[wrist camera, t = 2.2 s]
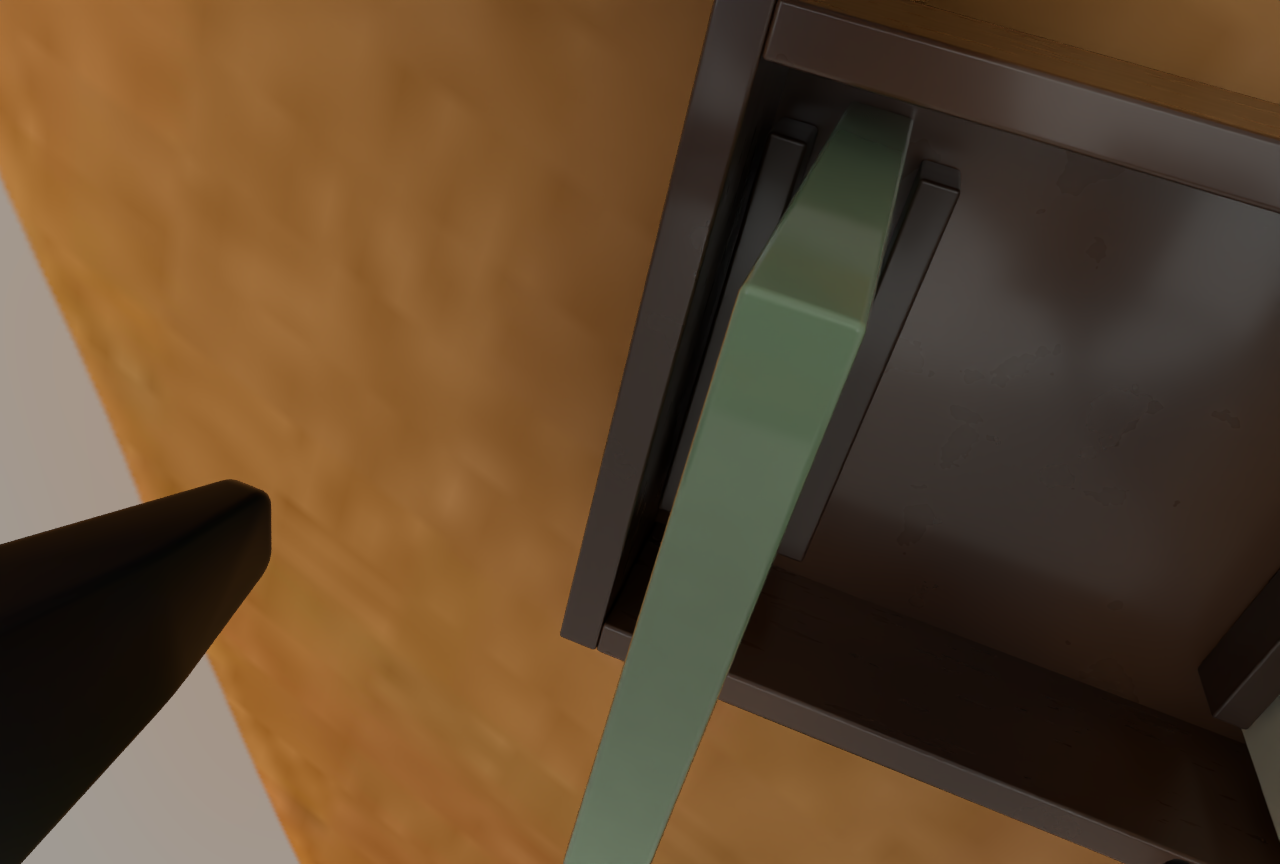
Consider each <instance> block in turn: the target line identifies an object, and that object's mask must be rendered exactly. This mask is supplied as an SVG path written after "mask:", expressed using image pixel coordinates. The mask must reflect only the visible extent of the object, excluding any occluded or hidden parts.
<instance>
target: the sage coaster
mask: <svg viewBox="0 0 1280 864" xmlns="http://www.w3.org/2000/svg"><path fill="white" fill-rule="evenodd" d="M913 126H914V121H913V120H912V119H911V118H909V117H906V116H902V115H899V114H896V113H892V112H889V111H886V110H882V109H879V108H876V107H872V106H869V105H866V104H862V103H859V102H856V101H854V102H850V103H849V105H848V106H847V108H846V109H845V111H844V113H843V114H842V116H841V118H840V119H839V121H838V123H837V125H836V126H835V128H834V130H833V131H832V133H831V135H830V136H829V138H828V140H827V141H826V143H825V145H824V146H823V148H822V150H821V152H820V153H819V155H818V157H817V158H816V160H815V162H814V163H813V165H812V167H811V168H810V170H809V172H808V174H807V175H806V177H805V179H804V180H803V182H802V184H801V185H800V187H799V189H798V190H797V192H796V194H795V195H794V197H793V199H792V201H791V202H790V204H789V206H788V207H787V209H786V211H785V212H784V214H783V216H782V217H781V219H780V221H779V222H778V224H777V226H776V228H775V229H774V231H773V233H772V234H771V236H770V238H769V239H768V241H767V243H766V244H765V246H764V248H763V250H762V251H761V253H760V255H759V256H758V258H757V260H756V261H755V263H754V265H753V266H752V268H751V270H750V271H749V273H748V275H747V277H746V278H745V280H744V282H743V283H742V285H741V287H740V288H739V291H738V294H737V297H736V300H735V304H734V307H733V310H732V313H731V317H730V320H729V323H728V327H727V330H726V333H725V336H724V340H723V343H722V346H721V349H720V353H719V356H718V359H717V362H716V366H715V369H714V372H713V375H712V379H711V382H710V385H709V388H708V392H707V395H706V398H705V401H704V405H703V408H702V411H701V414H700V418H699V421H698V424H697V427H696V431H695V434H694V437H693V440H692V444H691V447H690V450H689V453H688V457H687V460H686V463H685V466H684V470H683V473H682V476H681V479H680V483H679V486H678V489H677V492H676V496H675V499H674V502H673V506H672V509H671V512H670V515H669V519H668V522H667V525H666V528H665V532H664V535H663V538H662V541H661V545H660V548H659V551H658V554H657V558H656V561H655V564H654V567H653V571H652V574H651V577H650V580H649V584H648V587H647V590H646V593H645V597H644V600H643V603H642V606H641V610H640V613H639V616H638V619H637V623H636V626H635V629H634V632H633V636H632V639H631V642H630V645H629V649H628V652H627V655H626V658H625V662H624V665H623V668H622V671H621V675H620V678H619V681H618V684H617V688H616V691H615V694H614V698H613V701H612V704H611V707H610V711H609V714H608V717H607V720H606V724H605V727H604V730H603V733H602V737H601V740H600V743H599V746H598V750H597V753H596V756H595V759H594V763H593V766H592V769H591V772H590V776H589V779H588V782H587V785H586V789H585V792H584V795H583V798H582V802H581V805H580V808H579V811H578V815H577V818H576V821H575V824H574V828H573V831H572V834H571V837H570V841H569V844H568V847H567V850H566V854H565V857H564V860H563V864H651V863H652V861H653V858H654V856H655V853H656V851H657V848H658V846H659V843H660V841H661V839H662V836H663V834H664V831H665V829H666V826H667V824H668V821H669V819H670V816H671V814H672V811H673V809H674V806H675V804H676V801H677V799H678V797H679V794H680V792H681V789H682V787H683V784H684V782H685V779H686V777H687V774H688V772H689V769H690V767H691V764H692V762H693V760H694V757H695V755H696V752H697V750H698V747H699V745H700V742H701V740H702V737H703V735H704V732H705V730H706V727H707V725H708V722H709V720H710V718H711V715H712V713H713V710H714V708H715V705H716V703H717V700H718V698H719V695H720V693H721V690H722V688H723V685H724V683H725V680H726V678H727V676H728V673H729V671H730V668H731V666H732V663H733V661H734V658H735V656H736V653H737V651H738V648H739V646H740V643H741V641H742V638H743V636H744V634H745V631H746V629H747V626H748V624H749V621H750V619H751V616H752V614H753V611H754V609H755V606H756V604H757V601H758V599H759V596H760V594H761V592H762V589H763V587H764V584H765V582H766V579H767V577H768V574H769V572H770V569H771V567H772V564H773V562H774V559H775V557H776V555H777V552H778V550H779V547H780V545H781V542H782V540H783V537H784V535H785V532H786V530H787V527H788V525H789V522H790V520H791V517H792V515H793V513H794V510H795V508H796V505H797V503H798V500H799V498H800V495H801V493H802V490H803V488H804V485H805V483H806V480H807V478H808V475H809V473H810V471H811V468H812V466H813V463H814V461H815V458H816V456H817V453H818V451H819V448H820V446H821V443H822V441H823V438H824V436H825V433H826V431H827V429H828V426H829V424H830V421H831V419H832V416H833V414H834V411H835V409H836V406H837V404H838V401H839V399H840V396H841V394H842V392H843V389H844V387H845V384H846V382H847V379H848V377H849V374H850V372H851V369H852V367H853V364H854V362H855V359H856V357H857V354H858V352H859V350H860V347H861V345H862V342H863V340H864V337H865V335H866V332H867V328H868V323H869V319H870V315H871V310H872V306H873V301H874V297H875V293H876V288H877V284H878V280H879V275H880V271H881V266H882V262H883V258H884V253H885V249H886V244H887V240H888V236H889V231H890V227H891V223H892V218H893V214H894V209H895V205H896V201H897V196H898V192H899V187H900V183H901V179H902V174H903V170H904V166H905V161H906V157H907V152H908V148H909V144H910V139H911V135H912V130H913Z"/></svg>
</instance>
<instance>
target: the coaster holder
mask: <svg viewBox="0 0 1280 864" xmlns="http://www.w3.org/2000/svg"><path fill="white" fill-rule="evenodd" d="M854 101H856V102H859V103H862V104H866V105H869V106H872V107H876V108H879V109H882V110H886V111H889V112H892V113H896V114H899V115H902V116H906V117H909V118H911V119H912V120H913V121H914V126H913V130H912V135H911V139H910V144H909V148H908V152H907V157H906V161H905V166H904V170H903V174H902V179H901V183H900V187H899V192H898V196H897V201H896V205H895V209H894V214H893V218H892V223H891V227H890V231H889V236H888V240H887V244H886V249H885V253H884V258H883V262H882V266H881V271H880V275H879V280H878V284H877V288H876V293H875V297H874V301H873V306H872V310H871V315H870V319H869V323H868V328H867V332H866V335H865V337H864V340H863V342H862V345H861V347H860V350H859V352H858V354H857V357H856V359H855V362H854V364H853V367H852V369H851V372H850V374H849V377H848V379H847V382H846V384H845V387H844V389H843V392H842V394H841V396H840V399H839V401H838V404H837V406H836V409H835V411H834V414H833V416H832V419H831V421H830V424H829V426H828V429H827V431H826V433H825V436H824V438H823V441H822V443H821V446H820V448H819V451H818V453H817V456H816V458H815V461H814V463H813V466H812V468H811V471H810V473H809V475H808V478H807V480H806V483H805V485H804V488H803V490H802V493H801V495H800V498H799V500H798V503H797V505H796V508H795V510H794V513H793V515H792V517H791V520H790V522H789V525H788V527H787V530H786V532H785V535H784V537H783V540H782V542H781V545H780V547H779V550H778V552H777V555H776V557H775V559H774V562H773V564H772V567H771V569H770V572H769V574H768V577H767V579H766V582H765V584H764V587H763V589H762V592H761V594H760V596H759V599H758V601H757V604H756V606H755V609H754V611H753V614H752V616H751V619H750V621H749V624H748V626H747V629H746V631H745V634H744V636H743V638H742V641H741V643H740V646H739V648H738V651H737V653H736V656H735V658H734V661H733V663H732V666H731V668H730V671H729V673H728V676H727V678H726V680H725V683H724V685H723V688H722V690H721V693H720V695H719V698H718V700H721V701H723V702H726V703H728V704H731V705H733V706H736V707H738V708H741V709H743V710H746V711H748V712H751V713H753V714H756V715H758V716H761V717H763V718H765V719H768V720H770V721H773V722H775V723H778V724H780V725H783V726H785V727H788V728H790V729H793V730H795V731H798V732H800V733H803V734H805V735H808V736H810V737H813V738H815V739H818V740H820V741H823V742H825V743H827V744H830V745H832V746H835V747H837V748H840V749H842V750H845V751H847V752H850V753H852V754H855V755H857V756H860V757H862V758H865V759H867V760H870V761H872V762H875V763H877V764H880V765H882V766H884V767H887V768H889V769H892V770H894V771H897V772H899V773H902V774H904V775H907V776H909V777H912V778H914V779H917V780H919V781H922V782H924V783H927V784H929V785H932V786H934V787H937V788H939V789H941V790H944V791H946V792H949V793H951V794H954V795H956V796H959V797H961V798H964V799H966V800H969V801H971V802H974V803H976V804H979V805H981V806H984V807H986V808H989V809H991V810H994V811H996V812H999V813H1001V814H1003V815H1006V816H1008V817H1011V818H1013V819H1016V820H1018V821H1021V822H1023V823H1026V824H1028V825H1031V826H1033V827H1036V828H1038V829H1041V830H1043V831H1046V832H1048V833H1051V834H1053V835H1056V836H1058V837H1060V838H1063V839H1065V840H1068V841H1070V842H1073V843H1075V844H1078V845H1080V846H1083V847H1085V848H1088V849H1090V850H1093V851H1095V852H1098V853H1100V854H1103V855H1105V856H1108V857H1110V858H1113V859H1115V860H1117V861H1120V862H1122V863H1125V864H1164V863H1165V862H1166V861H1169V860H1172V859H1181V860H1184V861H1186V862H1189V863H1191V864H1280V842H1279V839H1278V836H1277V833H1276V831H1275V828H1274V825H1273V822H1272V819H1271V816H1270V813H1269V810H1268V807H1267V804H1266V801H1265V798H1264V795H1263V792H1262V789H1261V787H1260V784H1259V781H1258V778H1257V775H1256V772H1255V769H1254V766H1253V763H1252V760H1251V757H1250V754H1249V751H1248V748H1247V745H1246V743H1245V740H1244V737H1243V734H1242V731H1241V728H1242V729H1244V730H1247V729H1248V728H1249V727H1250V726H1251V725H1252V724H1253V723H1254V722H1255V721H1256V720H1257V719H1258V717H1259V716H1260V715H1261V714H1262V713H1263V712H1264V711H1265V710H1266V709H1267V708H1268V707H1269V706H1270V704H1271V703H1272V702H1273V701H1274V700H1275V699H1276V698H1277V697H1278V696H1279V695H1280V105H1278V104H1275V103H1271V102H1267V101H1264V100H1260V99H1257V98H1253V97H1250V96H1246V95H1243V94H1239V93H1236V92H1232V91H1229V90H1225V89H1221V88H1218V87H1214V86H1211V85H1207V84H1204V83H1200V82H1197V81H1193V80H1190V79H1186V78H1182V77H1179V76H1175V75H1172V74H1168V73H1165V72H1161V71H1158V70H1154V69H1151V68H1147V67H1143V66H1140V65H1136V64H1133V63H1129V62H1126V61H1122V60H1119V59H1115V58H1112V57H1108V56H1105V55H1101V54H1097V53H1094V52H1090V51H1087V50H1083V49H1080V48H1076V47H1073V46H1069V45H1066V44H1062V43H1058V42H1055V41H1051V40H1048V39H1044V38H1041V37H1037V36H1034V35H1030V34H1027V33H1023V32H1019V31H1016V30H1012V29H1009V28H1005V27H1002V26H998V25H995V24H991V23H988V22H984V21H980V20H977V19H973V18H970V17H966V16H963V15H959V14H956V13H952V12H949V11H945V10H942V9H938V8H934V7H931V6H927V5H924V4H920V3H917V2H913V1H910V0H714V2H713V6H712V10H711V14H710V18H709V23H708V27H707V31H706V35H705V39H704V43H703V47H702V51H701V55H700V60H699V64H698V68H697V72H696V76H695V80H694V84H693V88H692V92H691V97H690V101H689V105H688V109H687V113H686V117H685V121H684V125H683V130H682V134H681V138H680V142H679V146H678V150H677V154H676V158H675V162H674V167H673V171H672V175H671V179H670V183H669V187H668V191H667V195H666V199H665V204H664V208H663V212H662V216H661V220H660V224H659V228H658V232H657V236H656V241H655V245H654V249H653V253H652V257H651V261H650V265H649V269H648V273H647V278H646V282H645V286H644V290H643V294H642V298H641V302H640V306H639V311H638V315H637V319H636V323H635V327H634V331H633V335H632V339H631V343H630V348H629V352H628V356H627V360H626V364H625V368H624V372H623V376H622V380H621V385H620V389H619V393H618V397H617V401H616V405H615V409H614V413H613V417H612V422H611V426H610V430H609V434H608V438H607V442H606V446H605V450H604V454H603V459H602V463H601V467H600V471H599V475H598V479H597V483H596V487H595V492H594V496H593V500H592V504H591V508H590V512H589V516H588V520H587V524H586V529H585V533H584V537H583V541H582V545H581V549H580V553H579V557H578V561H577V566H576V570H575V574H574V578H573V582H572V586H571V590H570V594H569V598H568V603H567V607H566V611H565V615H564V619H563V623H562V627H561V631H560V636H561V637H563V638H566V639H568V640H571V641H573V642H576V643H578V644H581V645H583V646H586V647H588V648H591V649H595V648H596V647H597V650H598V651H600V652H602V653H604V654H607V655H609V656H612V657H614V658H617V659H619V660H622V661H624V662H625V658H626V655H627V652H628V649H629V645H630V642H631V639H632V636H633V632H634V629H635V626H636V623H637V619H638V616H639V613H640V610H641V606H642V603H643V600H644V597H645V593H646V590H647V587H648V584H649V580H650V577H651V574H652V571H653V567H654V564H655V561H656V558H657V554H658V551H659V548H660V545H661V541H662V538H663V535H664V532H665V528H666V525H667V522H668V519H669V515H670V512H671V509H672V506H673V502H674V499H675V496H676V492H677V489H678V486H679V483H680V479H681V476H682V473H683V470H684V466H685V463H686V460H687V457H688V453H689V450H690V447H691V444H692V440H693V437H694V434H695V431H696V427H697V424H698V421H699V418H700V414H701V411H702V408H703V405H704V401H705V398H706V395H707V392H708V388H709V385H710V382H711V379H712V375H713V372H714V369H715V366H716V362H717V359H718V356H719V353H720V349H721V346H722V343H723V340H724V336H725V333H726V330H727V327H728V323H729V320H730V317H731V313H732V310H733V307H734V304H735V300H736V297H737V294H738V291H739V288H740V287H741V285H742V283H743V282H744V280H745V278H746V277H747V275H748V273H749V271H750V270H751V268H752V266H753V265H754V263H755V261H756V260H757V258H758V256H759V255H760V253H761V251H762V250H763V248H764V246H765V244H766V243H767V241H768V239H769V238H770V236H771V234H772V233H773V231H774V229H775V228H776V226H777V224H778V222H779V221H780V219H781V217H782V216H783V214H784V212H785V211H786V209H787V207H788V206H789V204H790V202H791V201H792V199H793V197H794V195H795V194H796V192H797V190H798V189H799V187H800V185H801V184H802V182H803V180H804V179H805V177H806V175H807V174H808V172H809V170H810V168H811V167H812V165H813V163H814V162H815V160H816V158H817V157H818V155H819V153H820V152H821V150H822V148H823V146H824V145H825V143H826V141H827V140H828V138H829V136H830V135H831V133H832V131H833V130H834V128H835V126H836V125H837V123H838V121H839V119H840V118H841V116H842V114H843V113H844V111H845V109H846V108H847V106H848V105H849V103H850V102H854Z"/></svg>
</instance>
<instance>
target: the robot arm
mask: <svg viewBox="0 0 1280 864" xmlns="http://www.w3.org/2000/svg"><path fill="white" fill-rule="evenodd" d="M270 556H271V500H270V498H269V496H268V494H267V493H265V492H264V491H262V490H260V489H258V488H255V487H253V486H250V485H248V484H245V483H243V482H240V481H237V480H232V479H229V480H223V481H219V482H215V483H212V484H208V485H205V486H202V487H198V488H195V489H191V490H188V491H184V492H181V493H177V494H174V495H170V496H167V497H163V498H160V499H156V500H153V501H150V502H146V503H143V504H139V505H136V506H132V507H129V508H126V509H122V510H118V511H115V512H112V513H108V514H105V515H101V516H98V517H94V518H91V519H87V520H84V521H80V522H77V523H73V524H70V525H66V526H63V527H60V528H56V529H52V530H49V531H45V532H42V533H39V534H35V535H32V536H28V537H25V538H21V539H18V540H14V541H11V542H7V543H4V544H0V864H21V863H22V862H23V861H24V860H25V859H26V857H27V856H28V855H29V854H30V853H31V852H32V851H33V850H34V849H35V847H36V846H37V845H38V844H39V843H40V842H41V841H42V840H43V838H45V837H46V835H47V834H48V833H49V832H50V831H51V830H52V829H53V828H54V827H55V826H56V824H57V823H58V822H59V821H60V820H61V819H62V818H63V817H64V816H65V815H66V813H67V812H68V811H69V810H70V809H71V808H72V807H73V806H74V805H75V803H76V802H77V801H78V800H79V799H80V798H81V797H82V796H83V795H84V794H85V792H86V791H87V790H88V789H89V788H90V787H91V786H92V785H93V784H94V782H95V781H96V780H97V779H98V778H99V777H100V776H101V775H102V774H103V773H104V772H105V770H106V769H107V768H108V767H109V766H110V765H111V764H112V763H113V762H114V761H115V759H116V758H117V757H118V756H119V755H120V754H121V753H122V752H123V751H124V750H125V748H126V747H127V746H128V745H129V744H130V743H131V742H132V741H133V740H134V739H135V737H136V736H137V735H138V734H139V733H140V732H141V731H142V730H143V729H144V727H145V726H146V725H147V724H148V723H149V722H150V721H151V720H152V719H153V718H154V716H155V715H156V714H157V713H158V712H159V711H160V710H161V709H162V707H163V706H164V705H165V704H166V703H167V702H168V700H169V699H170V698H171V697H172V696H173V695H174V694H175V692H176V691H177V690H178V688H179V687H180V686H181V684H182V683H183V682H184V681H185V679H186V678H187V677H188V676H189V674H190V673H191V672H192V670H193V669H194V668H195V666H196V665H197V663H198V662H199V661H200V659H201V658H202V657H203V655H204V654H205V653H206V651H207V650H208V649H209V647H210V646H211V644H212V643H213V642H214V640H215V639H216V638H217V636H218V635H219V634H220V632H221V631H222V629H223V628H224V627H225V625H226V624H227V623H228V621H229V620H230V619H231V617H232V616H233V615H234V613H235V612H236V610H237V609H238V608H239V606H240V605H241V604H242V602H243V601H244V600H245V598H246V597H247V596H248V594H249V593H250V591H251V590H252V589H253V587H254V586H255V585H256V583H257V582H258V581H259V579H260V578H261V576H262V575H263V573H264V572H265V570H266V568H267V566H268V563H269V561H270ZM1164 864H1191V863H1189V862H1186V861H1184V860H1181V859H1172V860H1169V861H1166V862H1165V863H1164Z"/></svg>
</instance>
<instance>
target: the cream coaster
mask: <svg viewBox="0 0 1280 864" xmlns="http://www.w3.org/2000/svg"><path fill="white" fill-rule="evenodd" d="M1241 731H1242V734H1243V737H1244V740H1245V743H1246V745H1247V748H1248V751H1249V754H1250V757H1251V760H1252V763H1253V766H1254V769H1255V772H1256V775H1257V778H1258V781H1259V784H1260V787H1261V789H1262V792H1263V795H1264V798H1265V801H1266V804H1267V807H1268V810H1269V813H1270V816H1271V819H1272V822H1273V825H1274V828H1275V831H1276V833H1277V836H1278V839H1279V842H1280V695H1279V696H1278V697H1277V698H1276V699H1275V700H1274V701H1273V702H1272V703H1271V704H1270V706H1269V707H1268V708H1267V709H1266V710H1265V711H1264V712H1263V713H1262V714H1261V715H1260V716H1259V717H1258V719H1257V720H1256V721H1255V722H1254V723H1253V724H1252V725H1251V726H1250V727H1249V728H1248V729H1247V730H1244V729H1242V728H1241Z"/></svg>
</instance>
